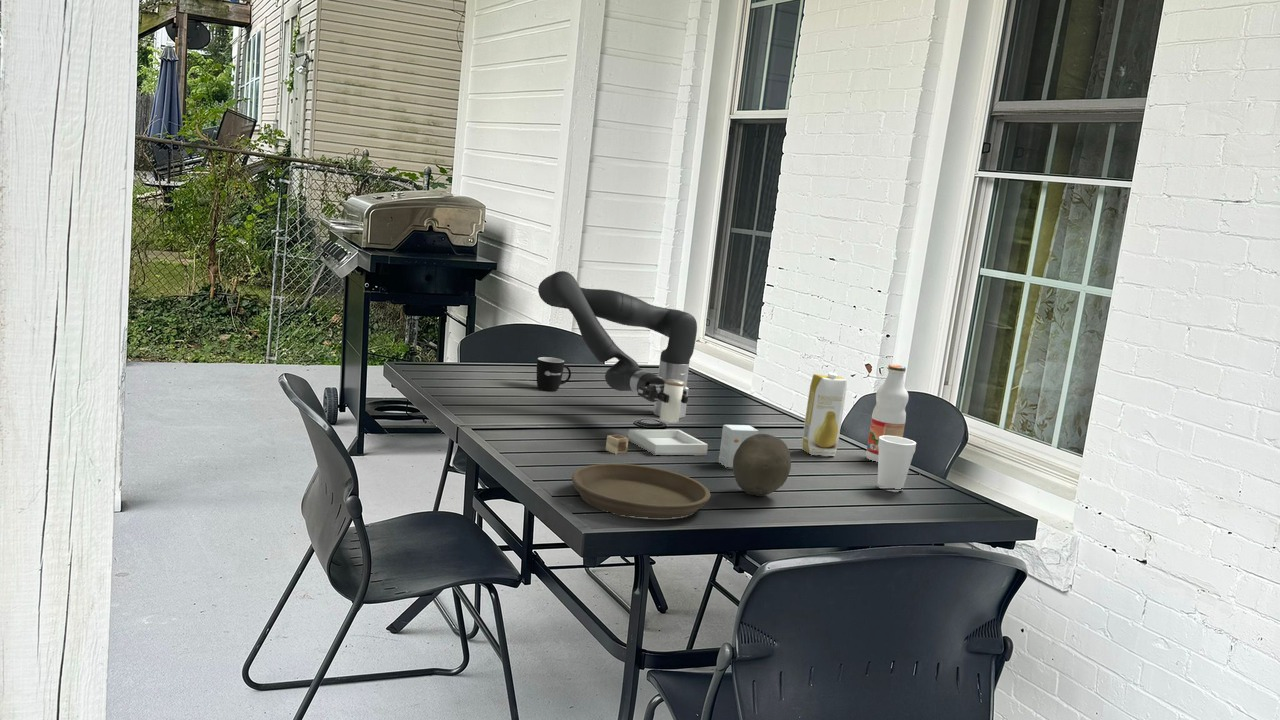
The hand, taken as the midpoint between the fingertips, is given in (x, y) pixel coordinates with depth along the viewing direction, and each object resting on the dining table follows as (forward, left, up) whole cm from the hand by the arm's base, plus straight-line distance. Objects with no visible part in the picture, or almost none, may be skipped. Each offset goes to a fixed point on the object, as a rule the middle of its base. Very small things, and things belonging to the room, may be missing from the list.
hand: (676, 399), depth 275 cm
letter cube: (+17, 0, -14) cm, 22 cm away
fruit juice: (-63, +13, -14) cm, 66 cm away
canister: (0, -2, -6) cm, 7 cm away
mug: (+4, -75, -14) cm, 76 cm away
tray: (0, -3, -14) cm, 14 cm away
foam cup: (-44, +38, -14) cm, 60 cm away
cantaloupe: (-1, +40, -14) cm, 43 cm away
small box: (-11, +15, -14) cm, 24 cm away
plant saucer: (+31, +40, -15) cm, 53 cm away
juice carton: (-46, +5, -14) cm, 49 cm away
